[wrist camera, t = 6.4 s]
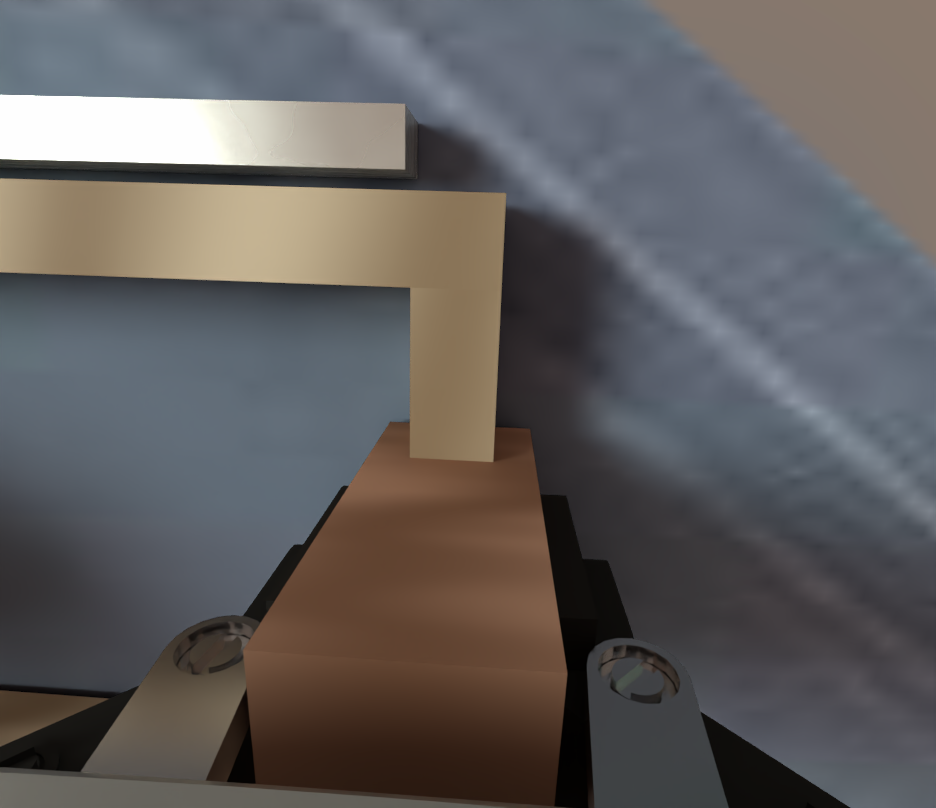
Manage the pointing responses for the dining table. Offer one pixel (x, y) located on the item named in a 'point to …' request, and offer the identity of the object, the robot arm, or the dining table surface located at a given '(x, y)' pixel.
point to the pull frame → (364, 492)
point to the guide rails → (209, 136)
